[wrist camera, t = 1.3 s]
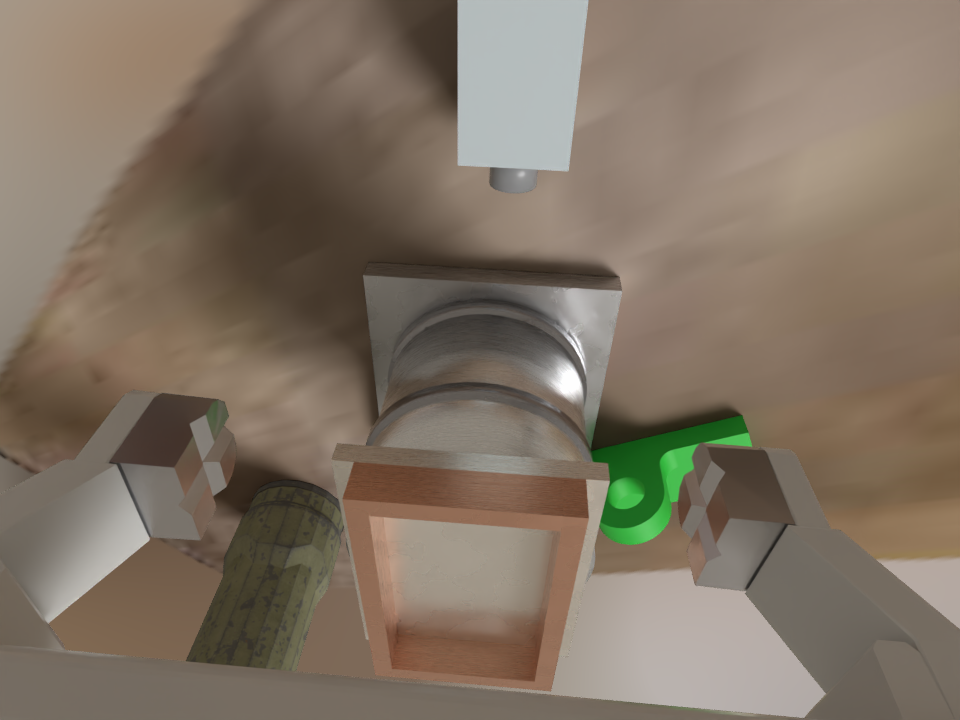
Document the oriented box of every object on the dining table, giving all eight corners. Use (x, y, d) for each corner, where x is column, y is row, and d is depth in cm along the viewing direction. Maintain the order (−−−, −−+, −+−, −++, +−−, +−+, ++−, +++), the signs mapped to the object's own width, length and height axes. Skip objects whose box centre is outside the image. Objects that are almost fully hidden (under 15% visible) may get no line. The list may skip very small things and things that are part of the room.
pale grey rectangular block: (580, -34, 29) (589, -9, 23) (560, 156, 34) (563, 212, 29) (473, -38, 29) (457, -14, 24) (471, 151, 35) (457, 206, 29)
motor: (619, 277, 39) (664, 524, 25) (586, 449, 49) (604, 696, 35) (368, 262, 40) (270, 493, 25) (386, 435, 50) (324, 670, 35)
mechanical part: (607, 495, 53) (616, 580, 47) (585, 450, 49) (591, 535, 43) (754, 464, 49) (785, 552, 43) (741, 413, 46) (772, 500, 40)
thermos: (221, 504, 58) (-62, 1079, 31) (310, 461, 53) (65, 1101, 26) (290, 552, 62) (95, 1094, 35) (378, 517, 57) (230, 1115, 30)
